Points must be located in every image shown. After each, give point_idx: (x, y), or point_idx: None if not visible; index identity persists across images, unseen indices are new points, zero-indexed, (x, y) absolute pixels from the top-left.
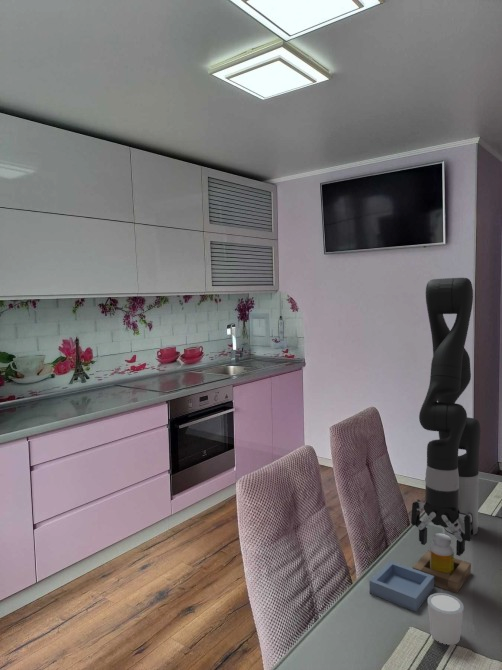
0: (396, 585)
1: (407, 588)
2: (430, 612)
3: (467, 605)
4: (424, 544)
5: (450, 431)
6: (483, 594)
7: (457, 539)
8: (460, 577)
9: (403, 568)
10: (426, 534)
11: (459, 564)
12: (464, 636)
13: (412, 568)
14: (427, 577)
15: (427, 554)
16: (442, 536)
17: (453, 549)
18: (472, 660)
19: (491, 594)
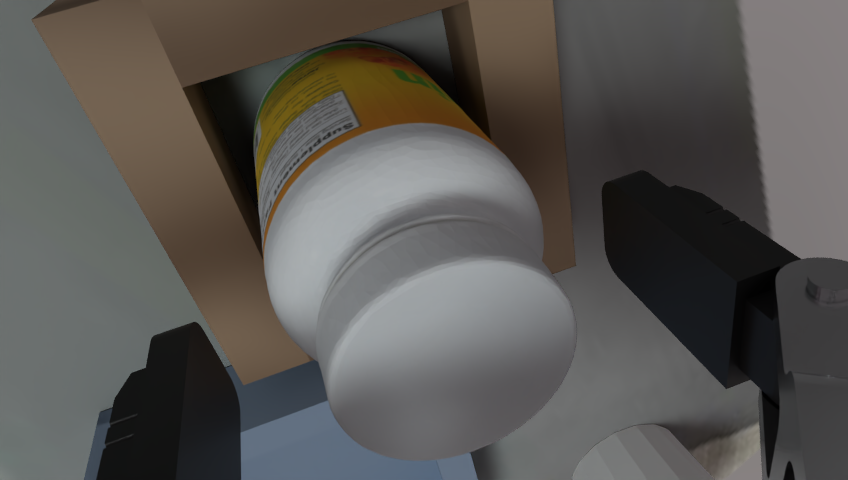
0: (277, 475)
1: (338, 444)
2: None
3: None
4: (230, 381)
5: None
6: (671, 91)
7: (759, 408)
8: (568, 191)
9: None
10: (197, 422)
11: (470, 11)
12: (681, 415)
13: (276, 418)
14: None
15: (128, 126)
16: (450, 349)
17: (527, 185)
18: (731, 461)
19: (713, 44)
